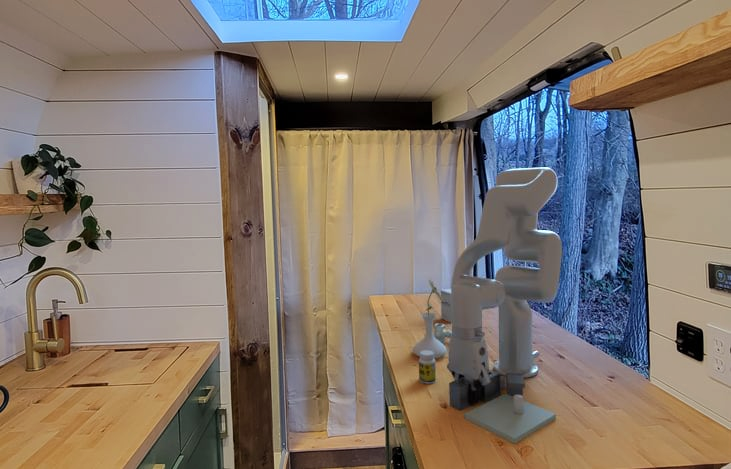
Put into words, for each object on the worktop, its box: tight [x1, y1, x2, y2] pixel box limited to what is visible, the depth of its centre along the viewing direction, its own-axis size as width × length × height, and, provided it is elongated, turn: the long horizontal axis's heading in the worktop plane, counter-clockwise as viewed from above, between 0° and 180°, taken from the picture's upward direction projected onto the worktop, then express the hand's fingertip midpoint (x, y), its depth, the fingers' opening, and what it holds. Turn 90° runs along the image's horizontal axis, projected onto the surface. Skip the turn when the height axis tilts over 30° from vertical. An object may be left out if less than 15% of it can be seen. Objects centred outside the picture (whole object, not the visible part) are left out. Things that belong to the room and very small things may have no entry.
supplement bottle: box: [418, 350, 437, 385], centre depth 128 cm, size 5×5×8 cm
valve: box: [433, 322, 452, 345], centre depth 159 cm, size 7×7×12 cm
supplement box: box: [440, 287, 452, 324], centre depth 184 cm, size 7×7×13 cm
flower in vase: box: [412, 279, 448, 359], centre depth 147 cm, size 13×11×25 cm
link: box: [448, 368, 506, 411], centre depth 117 cm, size 18×6×6 cm, turn 126°
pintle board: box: [464, 372, 557, 445], centre depth 107 cm, size 20×15×6 cm
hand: (468, 399), depth 115 cm, fingers closed on link, 3 cm apart
